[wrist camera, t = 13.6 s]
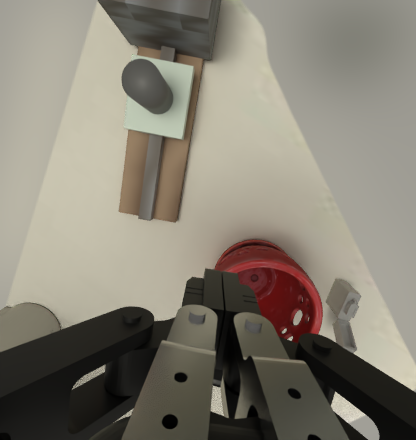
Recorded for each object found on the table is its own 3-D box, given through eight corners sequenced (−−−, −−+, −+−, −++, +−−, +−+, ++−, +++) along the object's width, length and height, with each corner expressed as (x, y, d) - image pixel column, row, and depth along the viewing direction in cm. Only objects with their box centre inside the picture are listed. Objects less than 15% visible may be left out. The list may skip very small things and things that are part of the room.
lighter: (335, 278, 41) (364, 305, 33) (346, 281, 41) (377, 310, 33) (317, 319, 42) (340, 354, 34) (328, 322, 42) (353, 358, 35)
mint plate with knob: (131, 130, 35) (98, 119, 26) (139, 63, 34) (107, 23, 24) (184, 140, 35) (172, 133, 26) (195, 74, 34) (186, 39, 24)
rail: (111, 207, 40) (69, 226, 28) (136, -14, 34) (95, -102, 22) (183, 221, 40) (170, 245, 28) (221, 2, 34) (223, -77, 22)
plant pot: (279, 219, 39) (306, 243, 27) (304, 298, 42) (338, 353, 30) (193, 247, 40) (184, 282, 29) (222, 323, 43) (224, 384, 31)
